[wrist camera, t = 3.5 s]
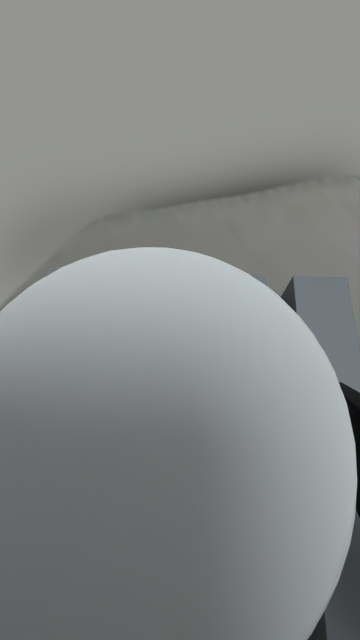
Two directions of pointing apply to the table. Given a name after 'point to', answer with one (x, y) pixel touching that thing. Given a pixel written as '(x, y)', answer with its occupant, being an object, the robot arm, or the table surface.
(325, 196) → the table surface
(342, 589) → the cup holder
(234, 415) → the supplement bottle
